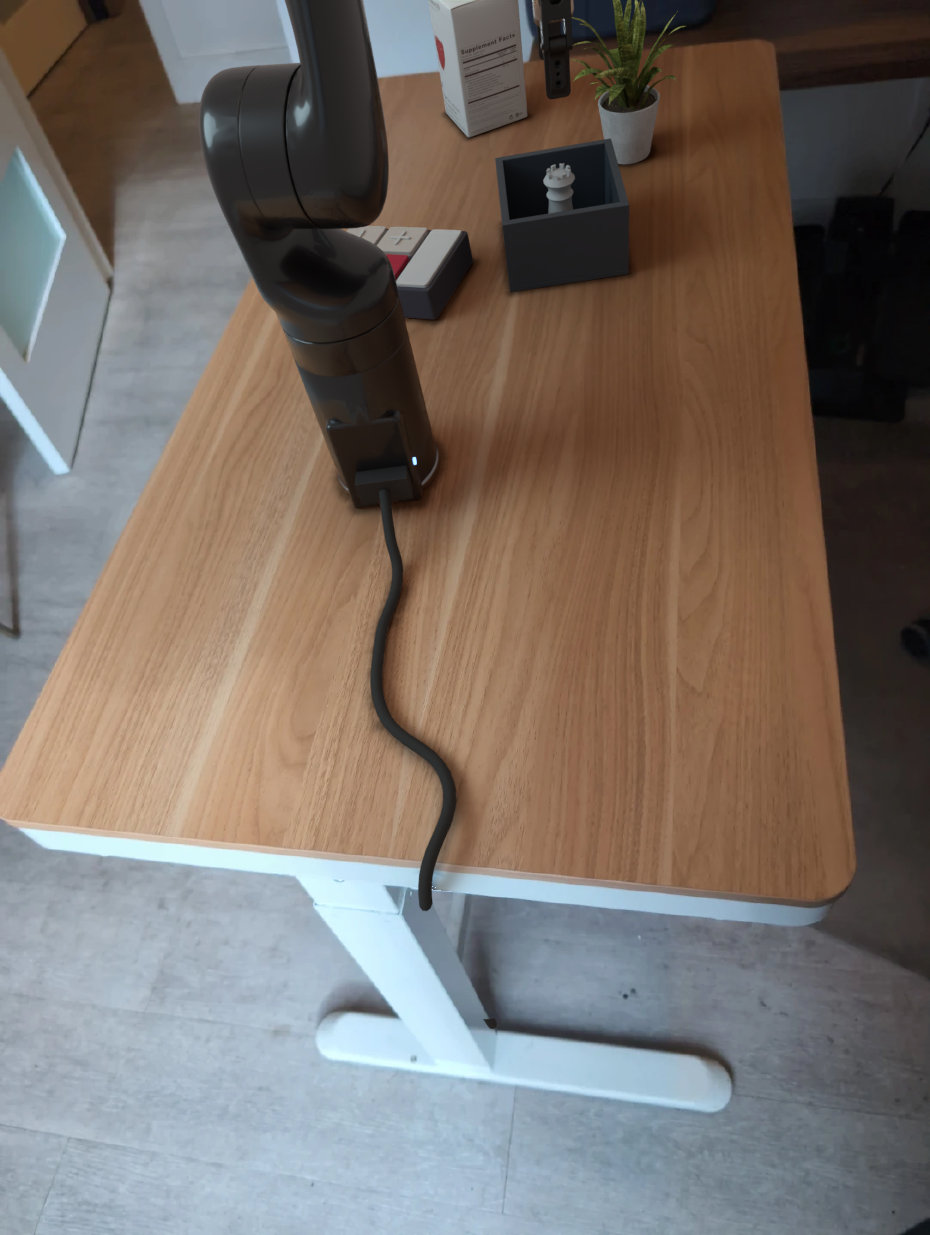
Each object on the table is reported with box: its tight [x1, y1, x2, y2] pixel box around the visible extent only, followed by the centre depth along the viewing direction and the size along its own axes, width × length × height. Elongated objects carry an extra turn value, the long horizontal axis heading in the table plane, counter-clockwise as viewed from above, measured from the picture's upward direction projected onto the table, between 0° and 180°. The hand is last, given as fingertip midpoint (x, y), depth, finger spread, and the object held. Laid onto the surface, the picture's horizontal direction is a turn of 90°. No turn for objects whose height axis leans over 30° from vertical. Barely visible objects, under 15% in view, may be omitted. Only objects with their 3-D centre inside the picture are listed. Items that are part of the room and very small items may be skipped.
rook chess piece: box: [543, 164, 575, 214], centre depth 89 cm, size 4×4×8 cm
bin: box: [494, 138, 630, 293], centre depth 89 cm, size 14×13×8 cm
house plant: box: [569, 0, 686, 165], centre depth 96 cm, size 14×14×16 cm
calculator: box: [345, 225, 474, 321], centre depth 92 cm, size 11×4×15 cm
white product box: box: [427, 0, 528, 138], centre depth 107 cm, size 9×9×15 cm
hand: (554, 76), depth 78 cm, fingers open, 8 cm apart
